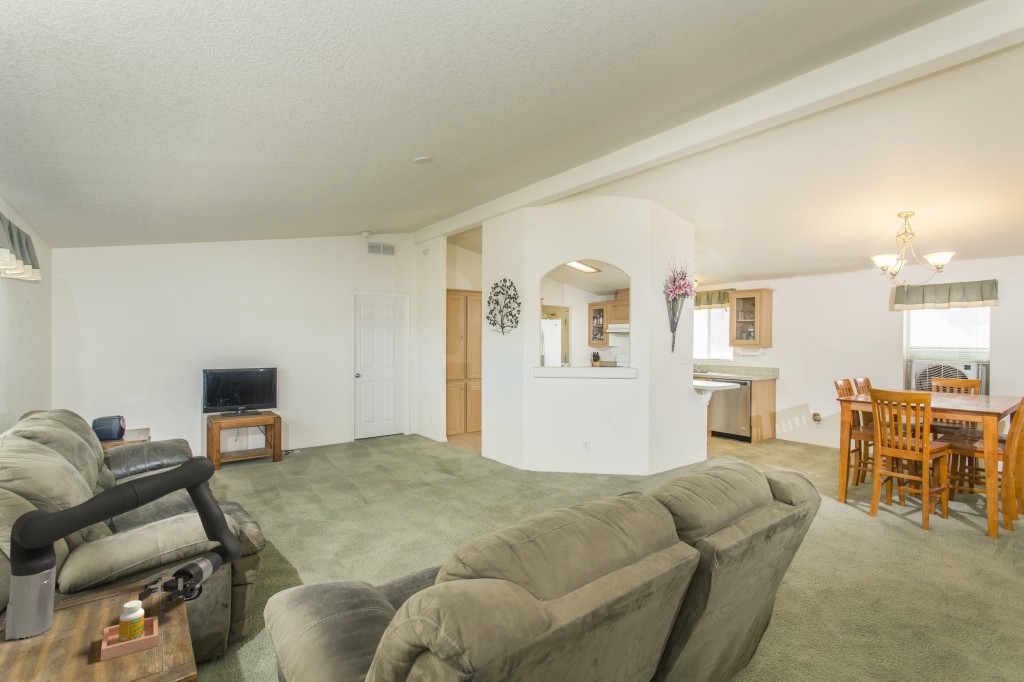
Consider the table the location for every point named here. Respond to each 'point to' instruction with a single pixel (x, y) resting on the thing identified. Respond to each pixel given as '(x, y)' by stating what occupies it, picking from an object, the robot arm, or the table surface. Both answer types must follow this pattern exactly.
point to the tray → (116, 649)
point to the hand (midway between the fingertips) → (153, 598)
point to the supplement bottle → (131, 621)
